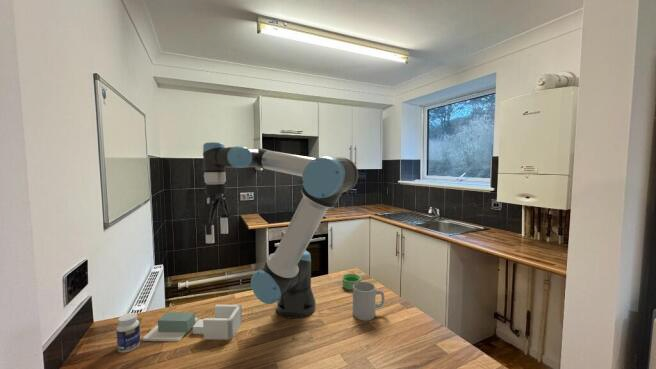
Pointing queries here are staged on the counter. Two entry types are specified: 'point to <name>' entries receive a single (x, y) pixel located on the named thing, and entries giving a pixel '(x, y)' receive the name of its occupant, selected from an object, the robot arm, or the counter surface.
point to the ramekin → (350, 280)
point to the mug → (365, 300)
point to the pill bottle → (128, 333)
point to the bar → (176, 322)
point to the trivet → (164, 335)
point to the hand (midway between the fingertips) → (217, 238)
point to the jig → (220, 323)
